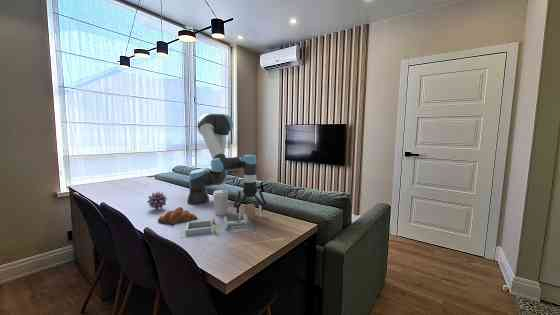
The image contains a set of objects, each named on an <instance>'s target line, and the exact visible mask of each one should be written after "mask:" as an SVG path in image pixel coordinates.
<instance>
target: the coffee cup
mask: <svg viewBox="0 0 560 315" xmlns="http://www.w3.org/2000/svg"><path fill="white" fill-rule="evenodd" d="M212 196H213V202H214V211H215V216H225V215H227V212H228V199H229V192H228V190H226V189H216V190H214V191H213V193H212Z"/></svg>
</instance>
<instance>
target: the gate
mask: <svg viewBox="0 0 560 315" xmlns="http://www.w3.org/2000/svg"><path fill="white" fill-rule="evenodd" d="M240 220H241V221H234V220H230V221H231V222H227V221H228V218H227V216H223V222H224V226H225V230H227V229H228V227H234V226H244V225H247V215H246V214H245V213H244V214H242V219H240Z"/></svg>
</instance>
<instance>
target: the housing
mask: <svg viewBox="0 0 560 315" xmlns="http://www.w3.org/2000/svg"><path fill="white" fill-rule="evenodd" d="M241 220H242V219H235V220H233V221H241ZM231 221H232V220H227V222H231ZM246 231H247V232H249V231H255V227H254V225H253V223H252V221H251V219H247V225H244V226H234V227H228V229H227V230H225V226H224V221H216V217H215V216H213V217H212V218H211V219H207V220H197V221H196V220H194V221H187V222H186V224H185V225H184V224H183V225H182V226H181V231H180V234H179V239H187V238H195V237H203V236H211V235H220V234H229V233H238V232H246Z"/></svg>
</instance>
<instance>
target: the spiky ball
mask: <svg viewBox="0 0 560 315" xmlns="http://www.w3.org/2000/svg"><path fill="white" fill-rule="evenodd" d="M167 201H168V198H167V196H166V195H165V193H164V192H161V191H156V192H152V193H151V195H149V196H148V200H147V202H146V203H148V206H149V208H151V209H154V210H159V209H160V210H161V209H162V208H163V207H164V206H167V204H166V203H167Z"/></svg>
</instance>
